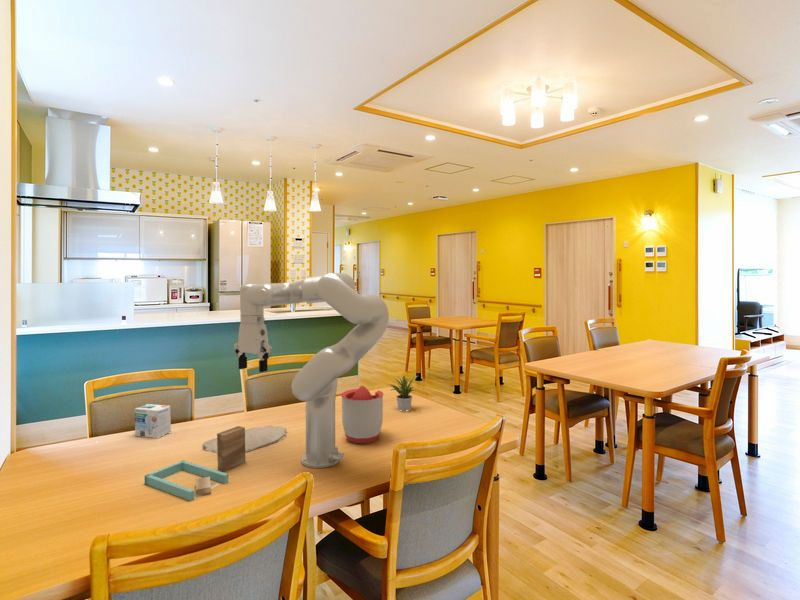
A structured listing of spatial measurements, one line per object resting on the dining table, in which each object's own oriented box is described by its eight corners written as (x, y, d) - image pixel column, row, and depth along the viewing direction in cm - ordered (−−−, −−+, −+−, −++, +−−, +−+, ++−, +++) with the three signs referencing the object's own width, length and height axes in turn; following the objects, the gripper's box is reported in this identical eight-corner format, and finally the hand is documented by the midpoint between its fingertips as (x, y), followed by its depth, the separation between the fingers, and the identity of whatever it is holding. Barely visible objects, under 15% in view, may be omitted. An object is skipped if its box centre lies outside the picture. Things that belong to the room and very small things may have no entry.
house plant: (407, 403, 211) (407, 369, 210) (427, 409, 201) (427, 374, 200) (383, 408, 202) (383, 373, 201) (403, 416, 191) (403, 378, 191)
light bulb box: (134, 436, 167) (133, 408, 166) (148, 430, 173) (147, 403, 173) (158, 439, 164) (157, 410, 164) (171, 432, 171) (171, 405, 170)
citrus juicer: (392, 433, 170) (392, 382, 169) (370, 449, 155) (370, 392, 154) (357, 427, 177) (357, 378, 176) (333, 442, 161) (332, 388, 160)
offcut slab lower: (219, 489, 126) (219, 483, 126) (199, 503, 119) (199, 496, 119) (207, 487, 128) (207, 481, 127) (187, 501, 120) (187, 494, 120)
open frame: (228, 486, 127) (228, 474, 127) (190, 505, 117) (190, 492, 116) (183, 471, 137) (183, 460, 137) (144, 487, 126) (144, 475, 126)
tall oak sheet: (245, 464, 141) (244, 427, 140) (224, 474, 134) (223, 435, 133) (239, 462, 142) (238, 426, 142) (217, 472, 135) (217, 433, 135)
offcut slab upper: (209, 482, 127) (209, 476, 127) (211, 493, 121) (210, 486, 120) (196, 485, 125) (195, 479, 125) (196, 496, 119) (196, 489, 119)
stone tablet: (199, 448, 156) (198, 442, 156) (274, 427, 178) (274, 421, 178) (219, 462, 145) (219, 455, 145) (297, 438, 166) (297, 432, 166)
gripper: (279, 320, 150) (279, 370, 150) (242, 318, 158) (243, 365, 159) (262, 322, 143) (263, 374, 144) (225, 319, 151) (226, 369, 152)
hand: (253, 370), depth 151 cm, fingers open, 9 cm apart
